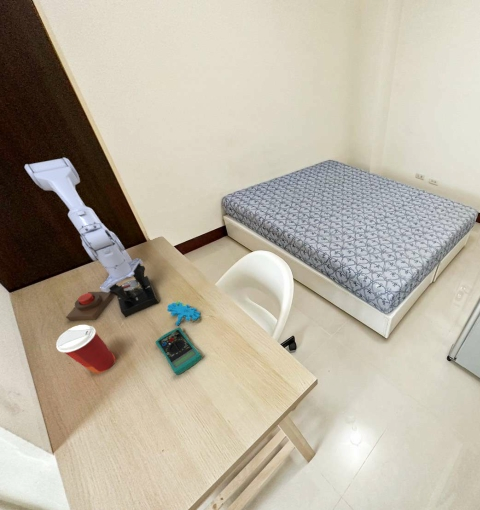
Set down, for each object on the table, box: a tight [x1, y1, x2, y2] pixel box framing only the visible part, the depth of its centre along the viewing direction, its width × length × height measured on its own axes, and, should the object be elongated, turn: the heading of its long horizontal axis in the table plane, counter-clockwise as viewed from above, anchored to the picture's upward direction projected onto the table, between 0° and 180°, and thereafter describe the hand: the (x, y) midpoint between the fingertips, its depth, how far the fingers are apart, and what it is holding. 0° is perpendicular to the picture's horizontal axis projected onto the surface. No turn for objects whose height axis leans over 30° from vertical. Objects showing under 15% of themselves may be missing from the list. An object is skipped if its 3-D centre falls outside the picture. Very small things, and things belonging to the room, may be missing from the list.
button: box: [77, 292, 94, 305], centre depth 87 cm, size 4×4×2 cm
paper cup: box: [55, 324, 116, 374], centre depth 70 cm, size 8×8×14 cm
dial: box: [122, 279, 143, 298], centre depth 91 cm, size 5×5×4 cm
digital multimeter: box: [154, 327, 203, 376], centre depth 77 cm, size 7×15×3 cm, turn 48°
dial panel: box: [116, 275, 160, 318], centre depth 93 cm, size 14×10×3 cm
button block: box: [65, 291, 116, 322], centre depth 89 cm, size 11×8×4 cm
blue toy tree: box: [166, 300, 201, 326], centre depth 85 cm, size 11×6×10 cm
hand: (134, 291), depth 92 cm, fingers open, 7 cm apart
